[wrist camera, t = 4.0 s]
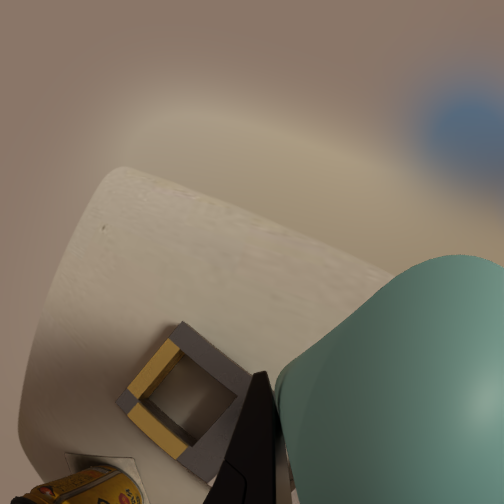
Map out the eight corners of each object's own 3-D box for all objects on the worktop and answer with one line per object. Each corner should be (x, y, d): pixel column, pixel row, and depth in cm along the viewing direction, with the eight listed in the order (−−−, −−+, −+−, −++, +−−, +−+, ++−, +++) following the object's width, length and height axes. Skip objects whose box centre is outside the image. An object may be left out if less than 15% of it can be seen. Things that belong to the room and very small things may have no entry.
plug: (322, 436, 12) (466, 564, 1) (260, 402, 13) (211, 513, 2) (360, 375, 14) (570, 328, 2) (299, 341, 15) (400, 198, 3)
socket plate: (276, 513, 15) (277, 525, 13) (126, 400, 20) (113, 402, 18) (347, 437, 18) (355, 444, 16) (189, 325, 22) (181, 320, 20)
